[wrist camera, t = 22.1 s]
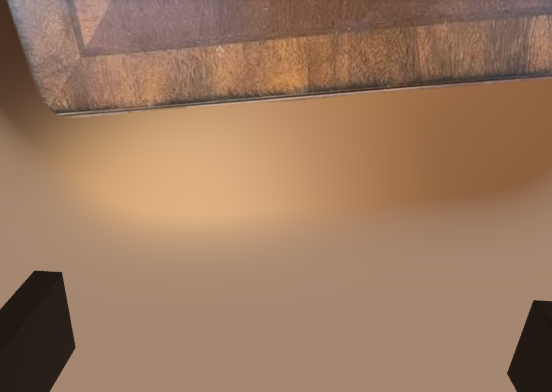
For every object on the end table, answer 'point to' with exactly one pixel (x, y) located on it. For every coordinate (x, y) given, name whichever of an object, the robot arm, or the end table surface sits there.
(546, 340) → the robot arm
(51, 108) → the end table surface
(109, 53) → the end table surface
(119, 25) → the end table surface
